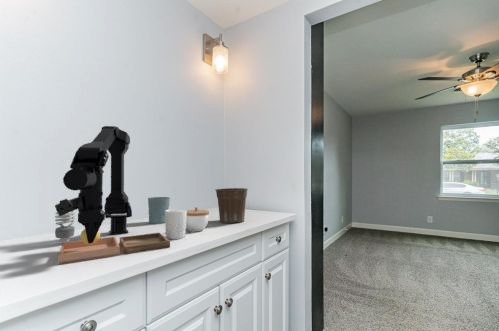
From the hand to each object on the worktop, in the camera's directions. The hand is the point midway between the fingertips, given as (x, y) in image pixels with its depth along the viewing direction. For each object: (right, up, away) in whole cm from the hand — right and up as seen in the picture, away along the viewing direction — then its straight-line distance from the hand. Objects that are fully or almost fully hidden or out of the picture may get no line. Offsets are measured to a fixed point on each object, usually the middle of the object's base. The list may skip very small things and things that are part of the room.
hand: (90, 241), depth 75 cm
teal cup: (+3, -6, +48) cm, 49 cm away
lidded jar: (+25, -5, +32) cm, 40 cm away
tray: (+13, -4, +8) cm, 15 cm away
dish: (0, -4, 0) cm, 4 cm away
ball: (0, -1, 0) cm, 1 cm away
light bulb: (-15, -4, +10) cm, 19 cm away
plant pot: (+38, -6, +51) cm, 64 cm away
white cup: (+20, -4, +19) cm, 28 cm away
